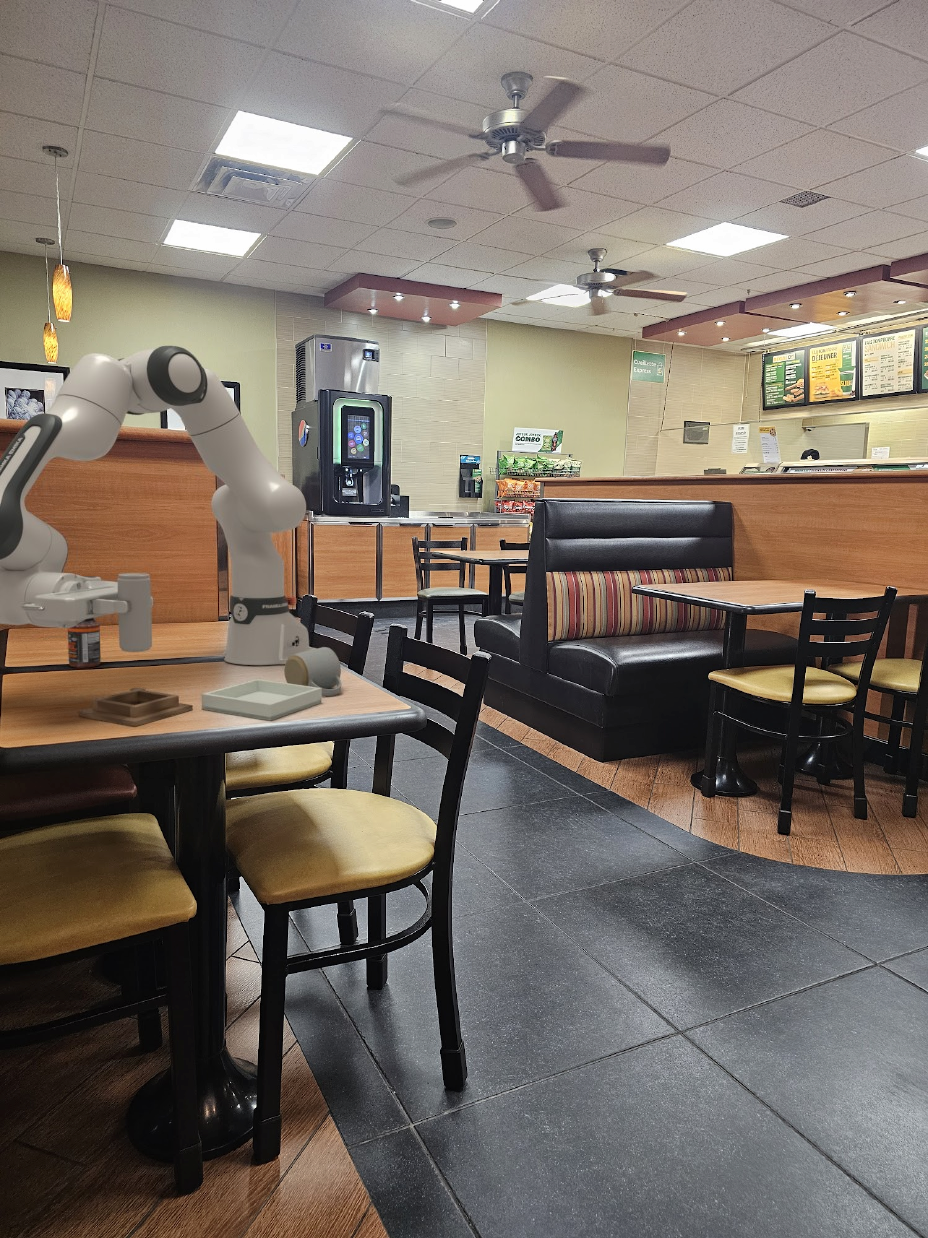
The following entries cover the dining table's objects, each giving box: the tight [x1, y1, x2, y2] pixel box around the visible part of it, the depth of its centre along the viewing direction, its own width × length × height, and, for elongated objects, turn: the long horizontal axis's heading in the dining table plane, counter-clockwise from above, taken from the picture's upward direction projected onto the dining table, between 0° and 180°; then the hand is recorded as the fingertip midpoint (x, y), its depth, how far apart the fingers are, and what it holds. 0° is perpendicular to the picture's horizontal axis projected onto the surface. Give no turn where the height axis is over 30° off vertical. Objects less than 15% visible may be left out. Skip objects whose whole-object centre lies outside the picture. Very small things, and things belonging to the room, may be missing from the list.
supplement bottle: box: [67, 617, 102, 669], centre depth 161 cm, size 6×6×11 cm
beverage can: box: [116, 572, 153, 653], centre depth 125 cm, size 5×5×12 cm
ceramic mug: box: [283, 646, 342, 697], centre depth 145 cm, size 11×8×8 cm
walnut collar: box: [77, 687, 194, 728], centre depth 126 cm, size 12×12×2 cm
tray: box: [201, 678, 323, 722], centre depth 133 cm, size 14×14×3 cm
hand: (139, 604), depth 124 cm, fingers closed on beverage can, 5 cm apart
